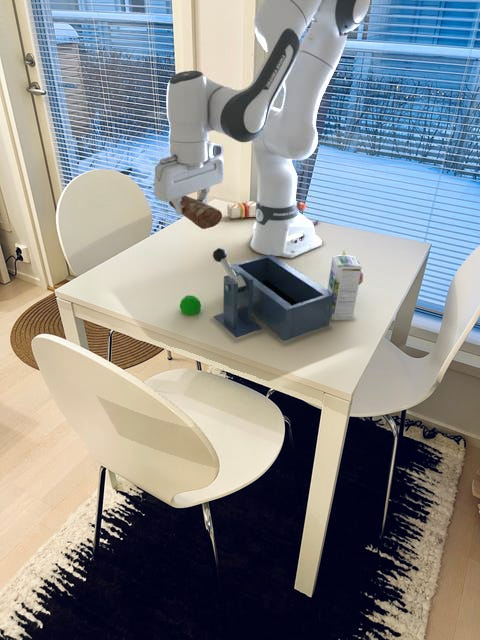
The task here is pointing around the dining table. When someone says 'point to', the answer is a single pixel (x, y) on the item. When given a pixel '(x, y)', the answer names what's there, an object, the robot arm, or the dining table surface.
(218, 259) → the toaster lever
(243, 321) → the lever bracket
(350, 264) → the syrup box
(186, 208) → the bread
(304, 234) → the robot arm
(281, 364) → the dining table surface
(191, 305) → the polyhedron
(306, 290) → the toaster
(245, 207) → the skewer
